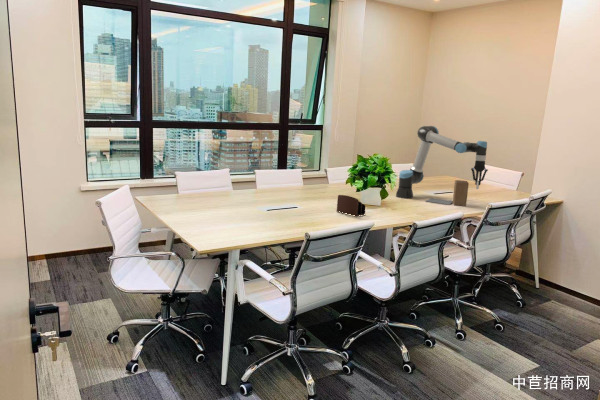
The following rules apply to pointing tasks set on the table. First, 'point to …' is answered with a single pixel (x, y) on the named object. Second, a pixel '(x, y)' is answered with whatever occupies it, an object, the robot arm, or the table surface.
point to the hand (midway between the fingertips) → (477, 188)
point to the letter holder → (350, 205)
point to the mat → (439, 201)
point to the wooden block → (460, 193)
